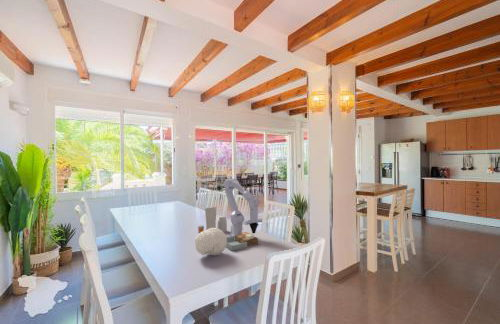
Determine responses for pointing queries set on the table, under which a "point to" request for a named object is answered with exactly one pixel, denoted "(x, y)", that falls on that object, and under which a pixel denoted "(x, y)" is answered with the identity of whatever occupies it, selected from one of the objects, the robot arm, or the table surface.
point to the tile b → (249, 236)
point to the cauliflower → (211, 241)
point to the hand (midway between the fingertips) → (253, 233)
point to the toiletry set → (213, 220)
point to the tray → (234, 244)
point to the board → (246, 240)
